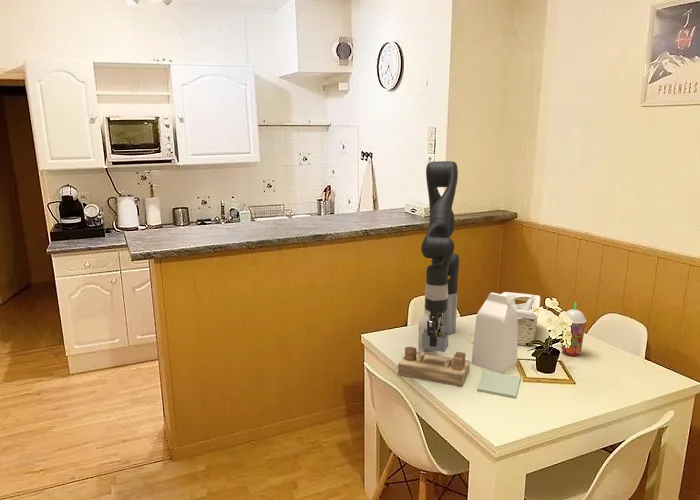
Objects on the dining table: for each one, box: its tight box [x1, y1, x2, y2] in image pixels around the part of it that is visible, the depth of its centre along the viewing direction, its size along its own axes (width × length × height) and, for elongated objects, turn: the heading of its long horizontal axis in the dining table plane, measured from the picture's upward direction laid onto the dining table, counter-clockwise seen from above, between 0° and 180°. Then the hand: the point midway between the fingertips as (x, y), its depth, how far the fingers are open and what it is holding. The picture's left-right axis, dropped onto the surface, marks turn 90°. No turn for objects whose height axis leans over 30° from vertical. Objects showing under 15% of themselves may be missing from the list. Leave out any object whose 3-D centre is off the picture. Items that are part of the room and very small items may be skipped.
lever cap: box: [422, 329, 450, 353], centre depth 177 cm, size 5×8×6 cm, turn 66°
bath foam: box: [418, 308, 438, 355], centre depth 192 cm, size 7×7×20 cm
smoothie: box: [561, 301, 587, 357], centre depth 192 cm, size 8×8×20 cm
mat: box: [476, 370, 522, 399], centre depth 171 cm, size 14×12×1 cm
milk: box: [470, 292, 518, 374], centre depth 184 cm, size 12×12×26 cm
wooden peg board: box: [397, 346, 471, 387], centre depth 178 cm, size 12×22×8 cm, turn 66°
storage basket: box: [500, 291, 541, 346], centre depth 211 cm, size 24×16×15 cm
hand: (435, 342), depth 177 cm, fingers closed on lever cap, 5 cm apart
